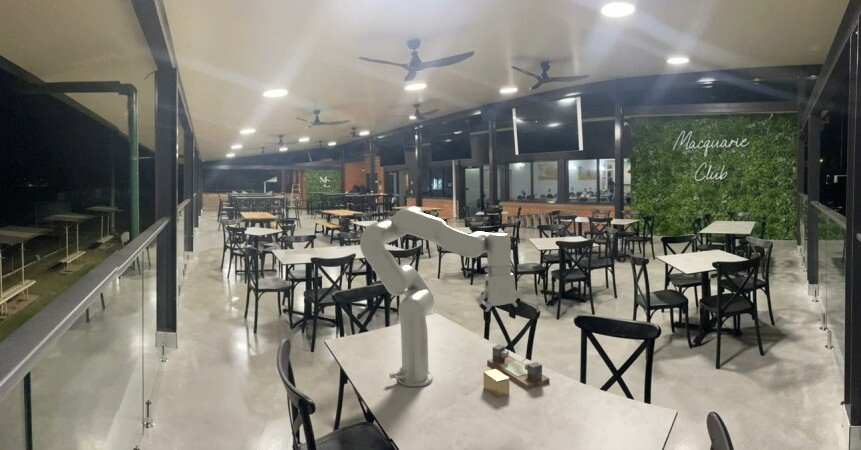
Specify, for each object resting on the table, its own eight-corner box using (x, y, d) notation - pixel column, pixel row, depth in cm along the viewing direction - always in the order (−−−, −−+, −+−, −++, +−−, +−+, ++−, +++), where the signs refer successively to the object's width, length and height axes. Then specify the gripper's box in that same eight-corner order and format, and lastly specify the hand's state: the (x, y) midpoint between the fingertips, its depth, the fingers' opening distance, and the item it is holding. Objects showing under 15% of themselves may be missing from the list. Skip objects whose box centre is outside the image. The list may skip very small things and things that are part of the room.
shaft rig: (526, 389, 162) (527, 369, 161) (487, 363, 183) (487, 346, 182) (549, 382, 167) (549, 363, 166) (508, 358, 188) (508, 341, 187)
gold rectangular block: (497, 398, 156) (497, 381, 156) (483, 388, 163) (483, 371, 163) (509, 394, 159) (509, 377, 158) (495, 385, 166) (495, 368, 165)
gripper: (481, 275, 150) (482, 327, 152) (527, 269, 157) (528, 319, 159) (470, 270, 157) (471, 320, 159) (515, 265, 164) (515, 313, 166)
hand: (499, 319), depth 159 cm, fingers open, 9 cm apart
